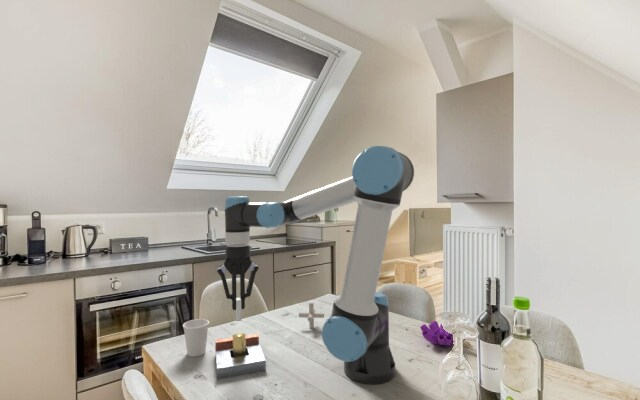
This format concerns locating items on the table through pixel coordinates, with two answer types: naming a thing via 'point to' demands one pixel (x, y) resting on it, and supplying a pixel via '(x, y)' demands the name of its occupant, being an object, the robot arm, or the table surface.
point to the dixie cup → (196, 336)
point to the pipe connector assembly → (437, 334)
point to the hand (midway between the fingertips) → (238, 319)
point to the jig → (242, 364)
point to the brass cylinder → (239, 345)
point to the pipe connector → (311, 315)
